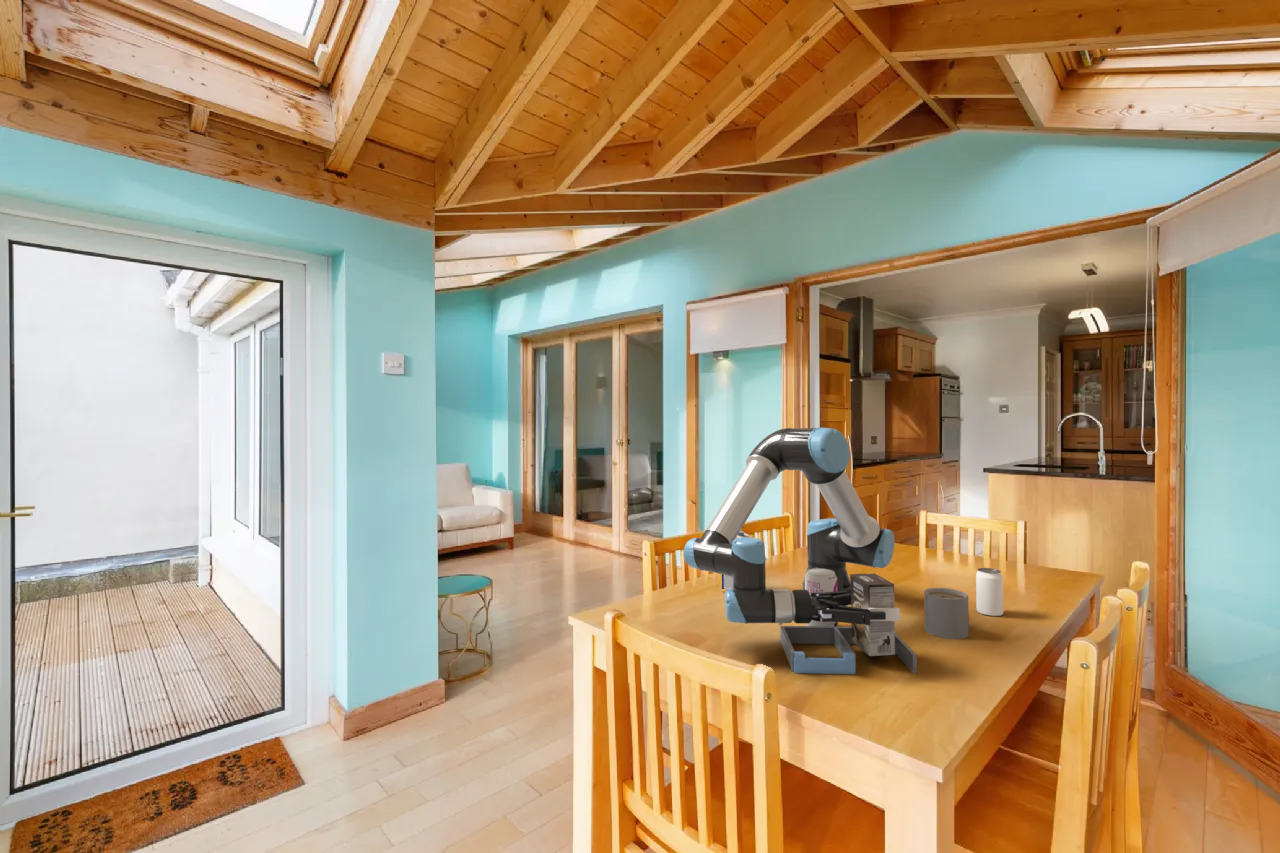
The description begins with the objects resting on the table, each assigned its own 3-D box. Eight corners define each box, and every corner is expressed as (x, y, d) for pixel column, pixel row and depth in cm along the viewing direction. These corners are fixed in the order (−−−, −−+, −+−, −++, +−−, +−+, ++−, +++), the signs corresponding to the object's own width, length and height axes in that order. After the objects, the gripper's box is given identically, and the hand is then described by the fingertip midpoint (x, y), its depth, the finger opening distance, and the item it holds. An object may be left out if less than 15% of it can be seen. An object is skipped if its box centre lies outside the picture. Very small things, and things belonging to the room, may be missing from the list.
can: (1007, 617, 158) (1006, 573, 158) (981, 616, 160) (980, 572, 159) (997, 609, 165) (997, 567, 165) (972, 608, 166) (972, 567, 166)
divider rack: (780, 641, 144) (780, 625, 144) (890, 643, 141) (890, 626, 141) (793, 673, 126) (792, 654, 126) (919, 676, 123) (919, 656, 123)
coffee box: (850, 641, 137) (848, 573, 137) (876, 639, 138) (874, 572, 138) (868, 656, 128) (867, 584, 128) (896, 655, 129) (895, 582, 129)
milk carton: (731, 586, 193) (730, 526, 193) (750, 589, 189) (749, 528, 189) (721, 591, 187) (720, 530, 187) (740, 595, 183) (739, 532, 183)
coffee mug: (963, 642, 141) (962, 601, 141) (919, 633, 148) (919, 593, 148) (976, 627, 151) (975, 589, 151) (935, 619, 158) (934, 582, 158)
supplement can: (838, 624, 155) (837, 568, 155) (838, 635, 147) (836, 576, 147) (806, 621, 158) (805, 567, 158) (805, 632, 150) (803, 574, 150)
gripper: (785, 606, 146) (876, 607, 144) (801, 640, 124) (910, 641, 121) (784, 577, 146) (875, 577, 144) (800, 605, 123) (909, 606, 121)
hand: (891, 606), depth 133 cm, fingers closed on coffee box, 10 cm apart
